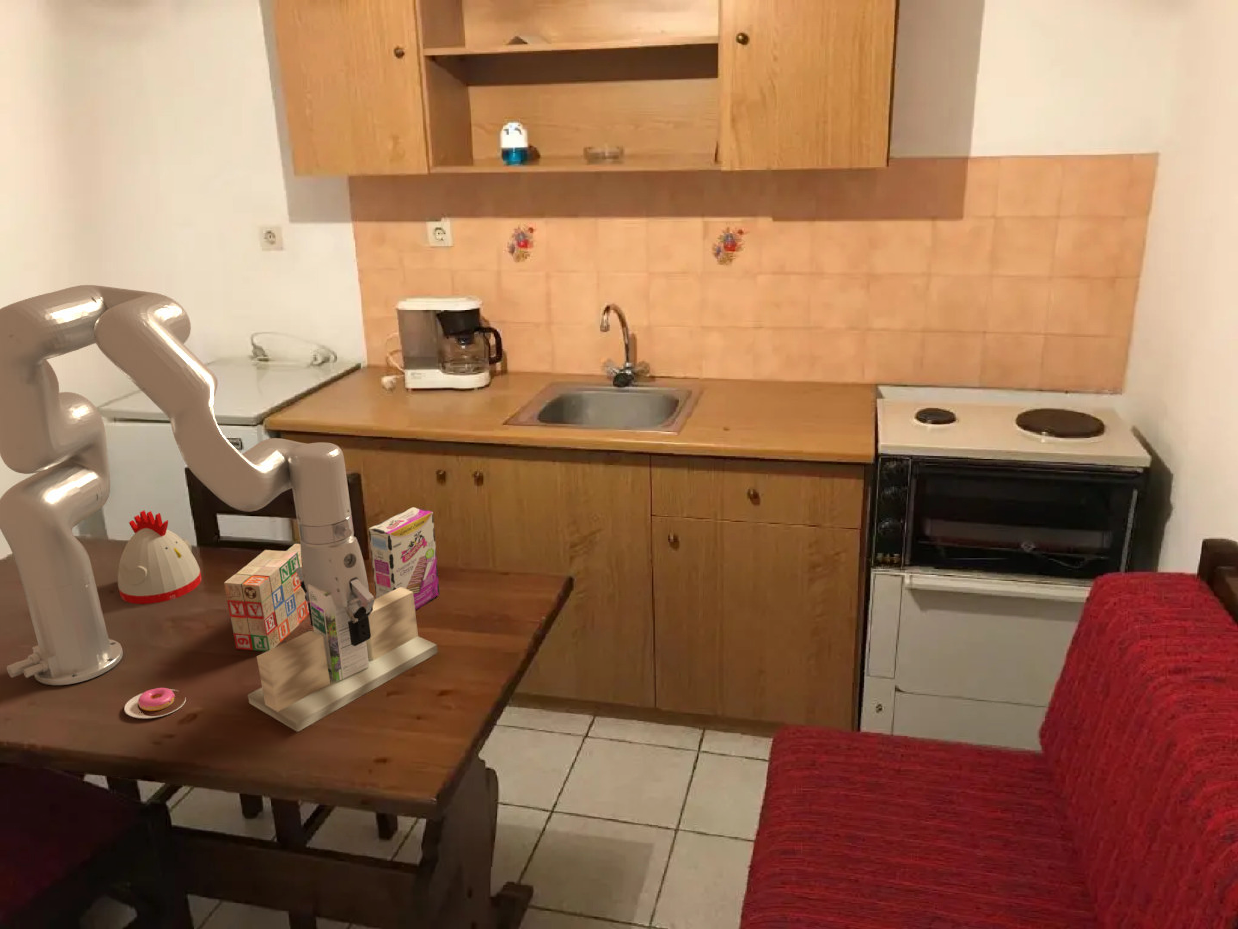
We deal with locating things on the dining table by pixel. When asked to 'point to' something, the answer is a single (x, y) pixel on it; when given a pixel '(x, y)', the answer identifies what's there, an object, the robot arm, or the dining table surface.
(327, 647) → the syrup box
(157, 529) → the kitchen timer
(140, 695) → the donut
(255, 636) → the stack of blocks
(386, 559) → the candy bar box
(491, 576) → the dining table surface
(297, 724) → the slotted board
